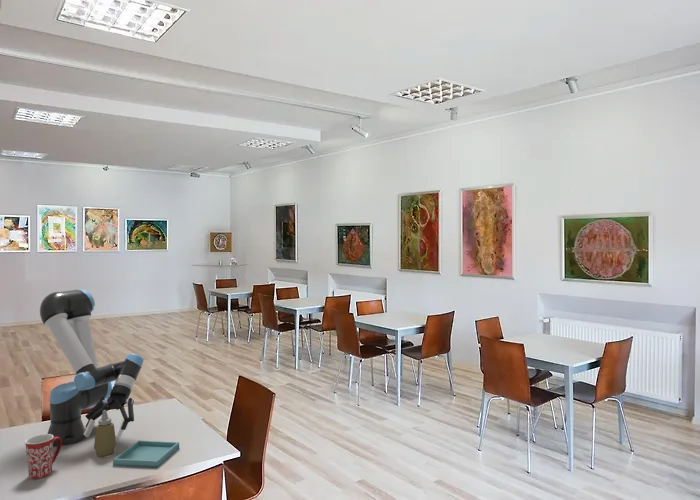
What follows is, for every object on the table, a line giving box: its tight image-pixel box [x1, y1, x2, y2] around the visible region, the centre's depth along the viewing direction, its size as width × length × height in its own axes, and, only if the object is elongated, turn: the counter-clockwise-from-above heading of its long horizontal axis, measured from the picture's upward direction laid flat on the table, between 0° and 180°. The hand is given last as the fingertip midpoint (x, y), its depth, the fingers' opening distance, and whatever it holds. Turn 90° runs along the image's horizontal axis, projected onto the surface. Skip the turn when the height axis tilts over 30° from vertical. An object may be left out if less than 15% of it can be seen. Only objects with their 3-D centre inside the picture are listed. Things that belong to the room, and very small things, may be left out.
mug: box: [24, 433, 63, 480], centre depth 187 cm, size 13×9×14 cm
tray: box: [112, 440, 180, 469], centre depth 200 cm, size 18×18×2 cm
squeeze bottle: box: [93, 410, 117, 458], centre depth 202 cm, size 8×8×18 cm
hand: (101, 436), depth 200 cm, fingers open, 13 cm apart
